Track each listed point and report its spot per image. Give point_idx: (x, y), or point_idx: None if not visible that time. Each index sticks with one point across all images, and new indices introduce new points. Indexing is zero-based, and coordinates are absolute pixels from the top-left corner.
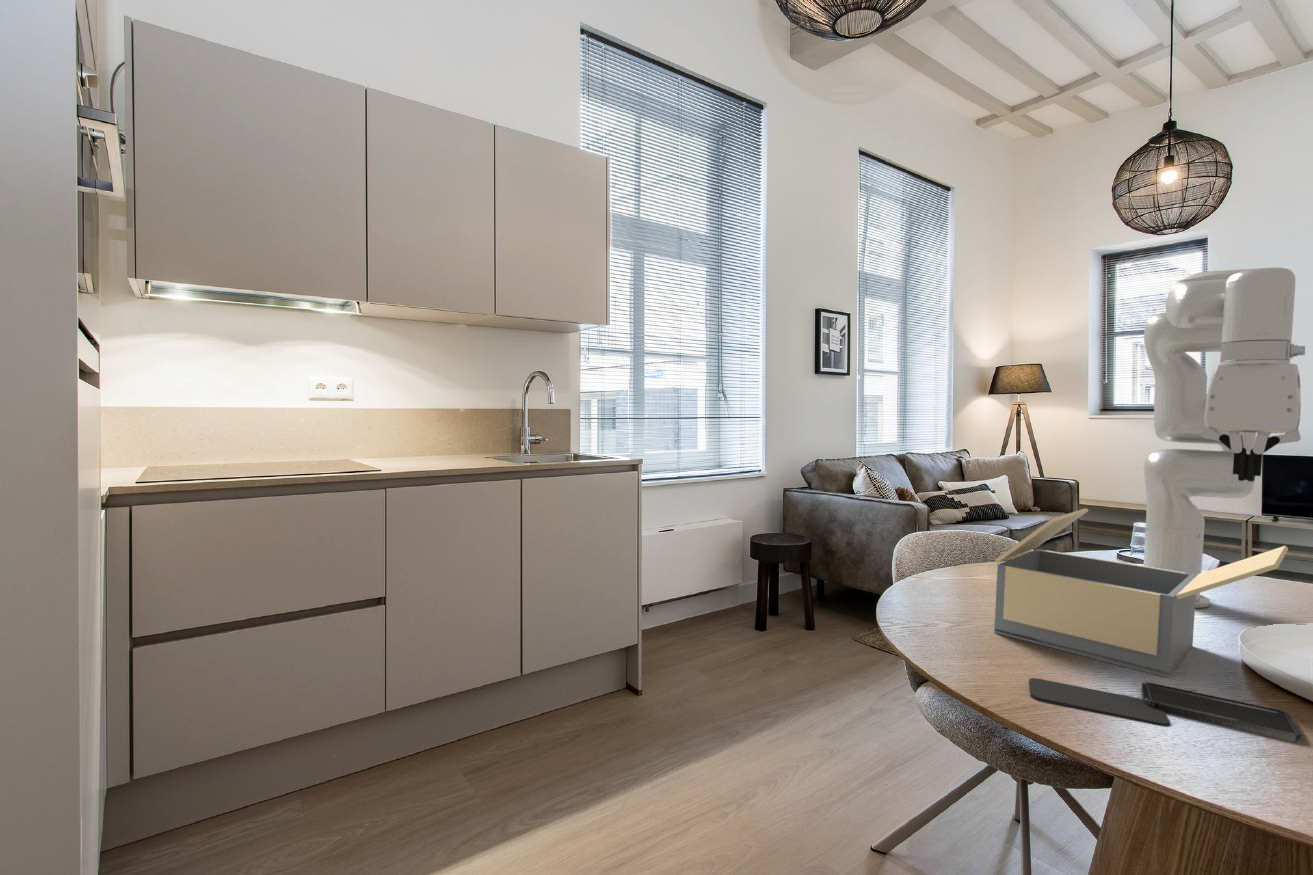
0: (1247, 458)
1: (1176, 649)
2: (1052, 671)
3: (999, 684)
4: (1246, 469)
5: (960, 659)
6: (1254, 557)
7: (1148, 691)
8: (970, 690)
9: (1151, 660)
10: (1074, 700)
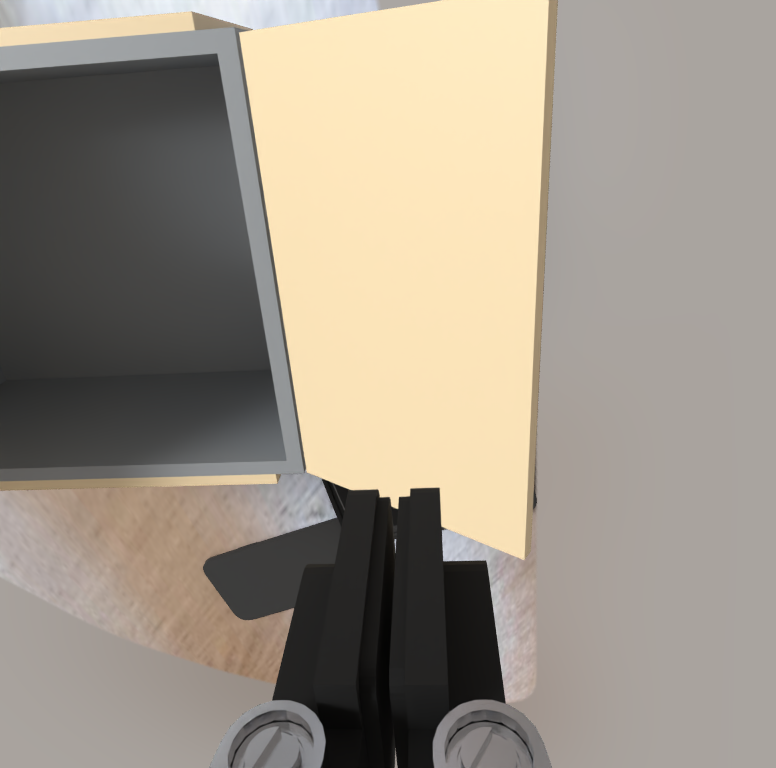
0: (383, 683)
1: None
2: (200, 503)
3: (188, 606)
4: (391, 610)
5: (91, 564)
6: (428, 100)
7: (340, 501)
8: (181, 648)
9: None
10: (282, 595)
